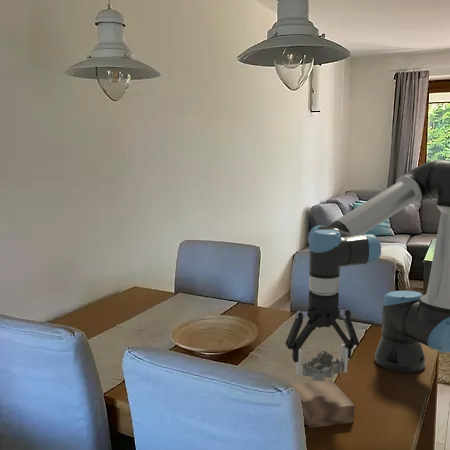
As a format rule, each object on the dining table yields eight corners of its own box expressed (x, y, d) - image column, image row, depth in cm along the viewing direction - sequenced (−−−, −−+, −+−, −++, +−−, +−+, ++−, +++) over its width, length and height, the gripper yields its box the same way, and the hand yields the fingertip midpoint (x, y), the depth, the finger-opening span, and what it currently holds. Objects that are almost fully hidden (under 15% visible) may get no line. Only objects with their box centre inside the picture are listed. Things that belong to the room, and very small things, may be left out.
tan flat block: (330, 396, 142) (331, 379, 141) (353, 423, 129) (354, 405, 128) (290, 401, 139) (290, 384, 139) (309, 429, 126) (309, 411, 125)
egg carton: (326, 363, 138) (326, 348, 137) (347, 373, 132) (348, 358, 131) (297, 372, 132) (297, 358, 131) (317, 384, 126) (318, 368, 125)
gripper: (362, 284, 133) (359, 362, 137) (274, 288, 130) (273, 368, 134) (374, 293, 126) (370, 375, 130) (281, 297, 123) (279, 381, 127)
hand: (321, 371), depth 132 cm, fingers closed on egg carton, 11 cm apart
